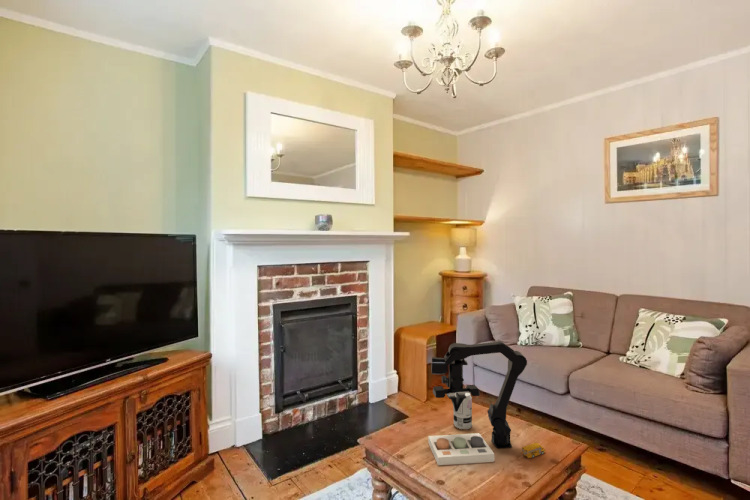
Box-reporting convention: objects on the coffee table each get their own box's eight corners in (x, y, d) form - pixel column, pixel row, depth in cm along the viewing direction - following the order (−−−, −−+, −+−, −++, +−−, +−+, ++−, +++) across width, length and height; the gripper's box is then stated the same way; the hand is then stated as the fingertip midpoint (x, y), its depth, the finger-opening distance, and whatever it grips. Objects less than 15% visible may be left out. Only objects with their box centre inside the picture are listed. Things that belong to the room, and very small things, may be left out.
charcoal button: (480, 443, 157) (480, 435, 157) (484, 449, 152) (484, 441, 152) (469, 443, 157) (469, 436, 157) (473, 450, 152) (473, 442, 152)
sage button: (463, 444, 157) (463, 436, 156) (467, 450, 152) (467, 442, 152) (452, 444, 156) (452, 437, 156) (455, 451, 151) (455, 443, 151)
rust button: (447, 445, 156) (446, 437, 156) (450, 451, 151) (450, 443, 151) (435, 445, 155) (435, 438, 155) (438, 452, 151) (438, 444, 151)
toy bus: (545, 453, 153) (545, 444, 152) (527, 460, 148) (527, 450, 148) (538, 449, 155) (538, 440, 155) (521, 456, 151) (521, 446, 151)
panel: (479, 440, 163) (479, 432, 163) (494, 461, 147) (494, 453, 147) (428, 443, 161) (428, 435, 161) (438, 465, 145) (438, 457, 145)
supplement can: (453, 421, 180) (452, 389, 180) (471, 422, 179) (470, 390, 179) (454, 429, 172) (453, 396, 172) (473, 430, 171) (472, 397, 171)
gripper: (470, 367, 170) (471, 402, 170) (429, 369, 168) (429, 404, 169) (480, 376, 159) (480, 413, 159) (436, 378, 157) (436, 415, 158)
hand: (456, 411), depth 162 cm, fingers closed
